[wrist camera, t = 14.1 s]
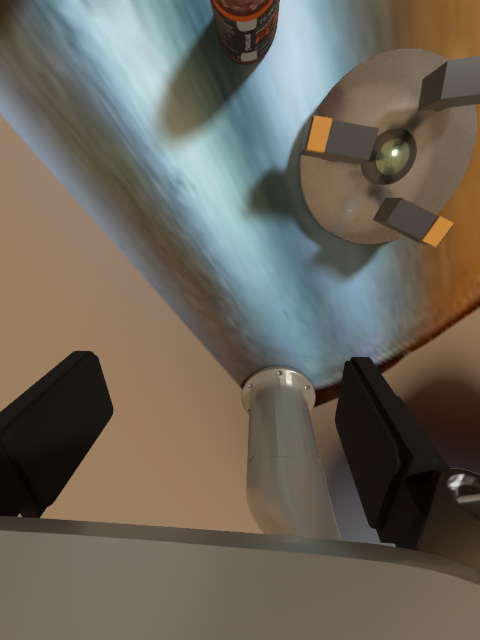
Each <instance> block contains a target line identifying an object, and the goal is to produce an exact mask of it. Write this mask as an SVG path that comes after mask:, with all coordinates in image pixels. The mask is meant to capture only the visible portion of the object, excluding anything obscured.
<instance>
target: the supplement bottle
mask: <svg viewBox="0 0 480 640" xmlns="http://www.w3.org/2000/svg"><path fill="white" fill-rule="evenodd" d="M210 2H211V6H212V10H213V14H214V19H215V23H216V27H217V31H218V36H219V39H220V42H221V44H222V46H223V48H224V50H225V52H226V53H227V54H228V55H229V56H230V57H231V58H232V59H233V60H235V61H236V62H239V63H243V64H249V63H254V62H256V61H258V60H260V59H261V58H262V57H263V56H264V55H265V54H266V53H267V51H268V50H269V48H270V47H271V45H272V42H273V40H274V37H275V33H276V29H277V22H278V12H279V2H280V0H210Z"/></svg>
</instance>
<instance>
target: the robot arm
mask: <svg viewBox="0 0 480 640" xmlns="http://www.w3.org/2000/svg"><path fill="white" fill-rule="evenodd" d="M242 403H243V406H244V408H245V410H246V411H247V413H248V414H249V415H250V419H249V440H248V461H247V484H246V495H247V502H248V505H249V509H250V512H251V514H252V516H253V518H254V519H255V521H256V523H257V524H258V526H259V528H260V529H261V530H262V532H263V533H264V534H255V533H242V532H229V531H216V530H202V529H189V528H175V527H161V526H146V525H131V524H117V523H103V522H88V521H72V520H57V519H42V518H40V517H41V515H42V514H43V512H44V511H45V509H46V508H47V507H48V506H50V505H51V504H53V502H54V501H55V500H56V498H57V497H58V495H59V494H60V493H61V491H62V490H63V488H64V487H65V485H66V484H67V482H68V481H69V479H70V478H71V476H72V475H73V473H74V472H75V470H76V469H77V467H78V466H79V464H80V463H81V461H82V460H83V458H84V457H85V456H86V454H87V453H88V451H89V450H90V448H91V447H92V445H93V444H94V442H95V441H96V439H97V438H98V436H99V435H100V433H101V432H102V430H103V429H104V427H105V426H106V425H107V423H108V422H109V420H110V419H111V417H112V415H113V406H112V402H111V399H110V395H109V392H108V389H107V386H106V382H105V379H104V375H103V372H102V369H101V365H100V362H99V359H98V357H97V356H96V355H94V353H93V352H91V351H74V352H72V353H71V354H70V355H69V356H68V357H66V358H65V359H64V360H63V361H62V362H60V363H59V364H58V365H57V366H55V367H54V368H53V369H52V370H51V371H49V372H48V373H47V374H46V375H45V376H43V377H42V378H41V379H40V380H39V381H38V382H36V383H35V384H34V385H32V386H31V387H30V388H29V389H28V390H27V391H25V392H24V393H23V394H22V395H20V396H19V397H18V398H17V399H16V400H14V401H13V402H12V403H11V404H9V405H8V406H7V407H6V408H5V409H3V410H2V411H1V412H0V640H480V475H478V474H476V473H473V472H471V471H468V470H463V469H450V467H449V466H448V465H447V463H446V462H445V460H444V459H443V457H442V456H441V455H440V453H439V452H438V450H437V449H436V448H435V446H434V445H433V443H432V442H431V440H430V439H429V438H428V436H427V435H426V433H425V432H424V430H423V429H422V428H421V426H420V425H419V423H418V422H417V420H416V419H415V418H414V416H413V415H412V413H411V412H410V411H409V409H408V408H407V406H406V405H405V403H404V402H403V401H402V400H401V398H400V397H398V396H396V395H395V393H394V392H393V390H392V389H391V388H390V386H389V385H388V383H387V382H386V380H385V379H384V378H383V376H382V374H381V373H380V372H379V370H378V369H377V367H376V366H375V364H374V363H373V361H372V360H371V359H370V358H369V357H352V358H351V359H350V361H346V362H345V366H344V371H343V377H342V382H341V387H340V393H339V398H338V404H337V410H336V415H335V424H336V428H337V431H338V434H339V437H340V440H341V443H342V445H343V449H344V452H345V454H346V458H347V461H348V464H349V467H350V470H351V473H352V476H353V479H354V482H355V485H356V488H357V491H358V494H359V497H360V500H361V503H362V506H363V509H364V512H365V515H366V518H367V521H368V523H369V525H370V527H371V528H374V529H376V530H377V533H378V536H379V539H380V542H381V543H394V544H395V545H396V547H391V546H384V545H377V544H370V543H359V542H349V541H342V539H341V537H340V533H339V530H338V526H337V523H336V520H335V516H334V513H333V508H332V505H331V501H330V497H329V493H328V488H327V484H326V480H325V476H324V472H323V467H322V463H321V458H320V454H319V450H318V446H317V441H316V437H315V433H314V428H313V424H312V420H311V416H310V411H311V410H312V408H313V406H314V403H315V392H314V388H313V385H312V383H311V382H310V380H309V379H308V378H307V377H306V376H305V375H304V374H303V373H301V372H299V371H298V370H295V369H293V368H289V367H285V366H272V367H267V368H263V369H261V370H259V371H257V372H255V373H254V374H252V375H251V376H250V377H249V378H248V379H247V381H246V382H245V384H244V386H243V389H242ZM19 513H20V514H21V515H22V517H17V516H18V515H19Z"/></svg>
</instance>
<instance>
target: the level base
mask: <svg viewBox="0 0 480 640" xmlns="http://www.w3.org/2000/svg"><path fill="white" fill-rule="evenodd" d="M447 61H449V60H447V59H446V58H444V57H443V56H441V55H438V54H436V53H434V52H431V51H427V50H422V49H413V48H404V49H397V50H391V51H388V52H385V53H381V54H378V55H376V56H374V57H372V58H370V59H368V60H366V61H364V62H363V63H361V64H359V65H358V66H356V67H355V68H353V69H352V70H351V71H350V72H349V73H347V74H346V75H345V76H344V77H343V78H342V79H341V80H340V81H339V82H338V83H337V84H336V85H335V86H334V87H333V88H332V89H331V91H330V92H329V93H328V94H327V96H326V97H325V98H324V100H323V101H322V103H321V104H320V106H319V108H318V109H317V111H316V112H315V114H314V115H316V116H321V117H327V118H333V119H332V120H336V121H342V122H347V123H353V124H359V125H364V126H370V127H376V128H379V131H378V134H377V137H376V141H375V144H374V147H373V150H372V153H371V156H370V159H369V160H368V161H365V162H362V163H359V164H351V163H345V162H339V161H334V160H323V159H321V158H317V157H311V156H305V155H300V158H299V184H300V189H301V194H302V197H303V200H304V202H305V205H306V207H307V209H308V211H309V212H310V214H311V215H312V217H313V218H314V219H315V221H316V222H317V223H318V224H319V225H320V226H321V227H322V228H324V229H325V230H326V231H328V232H329V233H331V234H333V235H335V236H337V237H339V238H340V239H343V240H346V241H349V242H353V243H358V244H379V243H384V242H389V241H392V240H395V239H398V238H401V237H403V236H405V235H402V234H400V233H398V232H396V231H394V230H392V229H390V228H388V227H386V226H384V225H382V224H380V223H378V222H376V221H374V220H372V219H373V218H374V216H375V215H376V213H377V211H378V210H379V208H380V206H381V205H382V203H383V201H384V200H385V198H403V199H405V200H407V201H409V202H411V203H413V204H415V205H417V206H419V207H421V208H423V209H425V210H427V211H429V212H431V213H433V214H435V215H436V214H437V213H438V212H439V211H440V210H441V209H442V208H443V207H444V206H445V205H446V203H447V202H448V201H449V199H450V198H451V197H452V196H453V194H454V193H455V191H456V190H457V188H458V186H459V185H460V183H461V182H462V179H463V177H464V175H465V173H466V171H467V169H468V166H469V164H470V161H471V158H472V155H473V151H474V147H475V142H476V134H477V112H476V105H467V106H459V107H451V108H446V109H444V110H442V111H434V110H428V111H420V112H418V106H419V99H420V93H421V87H422V80H423V79H424V78H425V77H426V76H428V75H429V74H430V73H432V72H433V71H434V70H436V69H437V68H439V67H440V66H441V65H443V64H444V63H445V62H447ZM313 117H314V116H313Z"/></svg>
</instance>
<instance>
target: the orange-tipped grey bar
mask: <svg viewBox="0 0 480 640" xmlns="http://www.w3.org/2000/svg"><path fill="white" fill-rule="evenodd" d="M332 119H333V118H327V117H321V116H316V115H314V117H313V116H311V118H310V120H309V121H308V123H307V124H306V126H305V130H304V134H303V139H302V144H301V148H300V153H299V155H305V156H311V157H317V158H321V159H323V160H334V161H339V162H345V163H351V164H359V163H362V162H365V161H368V160H369V159H370V156H371V153H372V150H373V147H374V144H375V141H376V137H377V134H378V131H379V128H376V127H370V126H364V125H359V124H353V123H347V122H342V121H336V120H332Z"/></svg>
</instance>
